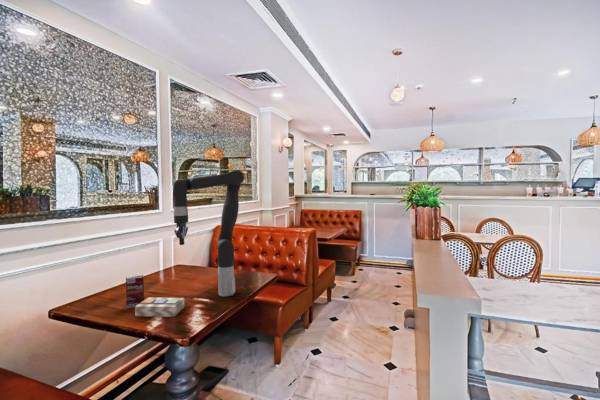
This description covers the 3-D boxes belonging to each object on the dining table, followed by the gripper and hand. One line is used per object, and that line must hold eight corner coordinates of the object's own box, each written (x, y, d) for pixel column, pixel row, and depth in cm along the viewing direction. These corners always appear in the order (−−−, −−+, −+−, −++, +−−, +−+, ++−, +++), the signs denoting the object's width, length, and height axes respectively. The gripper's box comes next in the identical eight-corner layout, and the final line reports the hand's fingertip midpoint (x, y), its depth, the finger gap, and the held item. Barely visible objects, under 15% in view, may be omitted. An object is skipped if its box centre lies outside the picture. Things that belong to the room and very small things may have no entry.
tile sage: (179, 306, 159) (179, 299, 159) (175, 310, 154) (174, 303, 154) (170, 306, 159) (170, 299, 159) (165, 310, 154) (165, 302, 154)
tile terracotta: (155, 306, 160) (155, 298, 159) (150, 310, 155) (150, 302, 154) (146, 306, 160) (146, 298, 160) (141, 310, 155) (140, 302, 155)
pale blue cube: (167, 306, 159) (167, 299, 159) (162, 310, 154) (162, 302, 154) (158, 306, 159) (158, 299, 159) (153, 310, 154) (153, 302, 154)
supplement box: (126, 308, 161) (125, 279, 160) (126, 305, 165) (125, 277, 164) (144, 305, 165) (143, 277, 164) (144, 302, 169) (143, 274, 168)
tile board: (184, 306, 162) (184, 297, 162) (173, 316, 150) (173, 306, 150) (148, 306, 163) (148, 297, 163) (135, 316, 151) (135, 306, 151)
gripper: (182, 215, 163) (183, 247, 164) (192, 213, 176) (193, 242, 177) (168, 215, 164) (169, 247, 165) (179, 213, 177) (180, 242, 178)
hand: (181, 244), depth 171 cm, fingers closed
